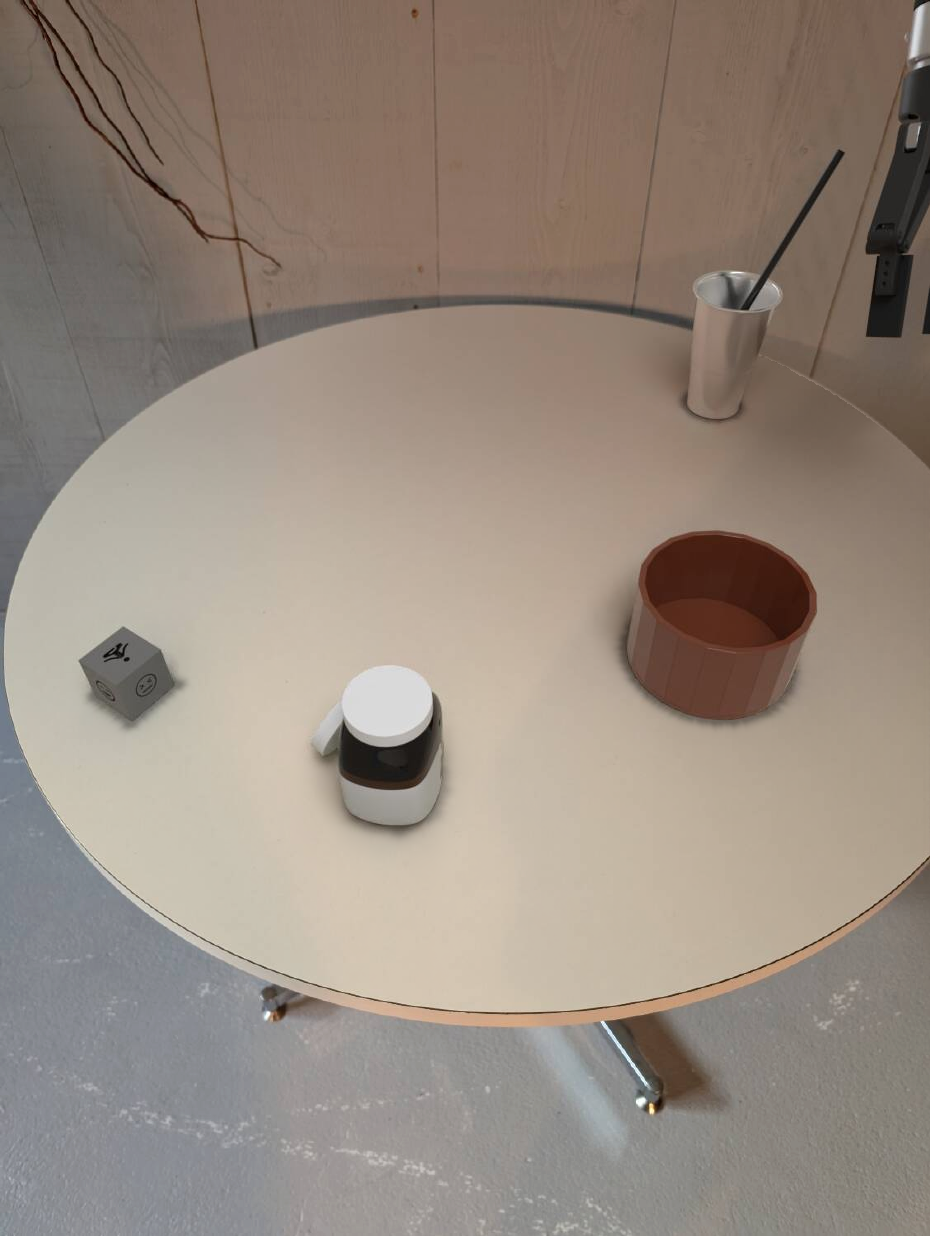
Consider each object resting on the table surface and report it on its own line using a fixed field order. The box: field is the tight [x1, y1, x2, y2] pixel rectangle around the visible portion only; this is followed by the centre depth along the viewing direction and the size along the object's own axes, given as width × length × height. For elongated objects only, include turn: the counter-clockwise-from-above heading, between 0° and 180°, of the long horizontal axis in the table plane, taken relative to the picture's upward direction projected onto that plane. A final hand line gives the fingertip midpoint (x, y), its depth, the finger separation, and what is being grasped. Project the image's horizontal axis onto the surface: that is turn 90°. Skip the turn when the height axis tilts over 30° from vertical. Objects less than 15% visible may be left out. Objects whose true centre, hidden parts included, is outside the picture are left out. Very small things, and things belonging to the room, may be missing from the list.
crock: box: [626, 529, 818, 720], centre depth 83 cm, size 15×15×9 cm
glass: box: [686, 148, 846, 420], centre depth 104 cm, size 11×11×30 cm
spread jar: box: [310, 664, 445, 827], centre depth 73 cm, size 12×11×12 cm
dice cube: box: [78, 625, 175, 722], centre depth 82 cm, size 5×5×5 cm
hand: (912, 336), depth 82 cm, fingers open, 13 cm apart
